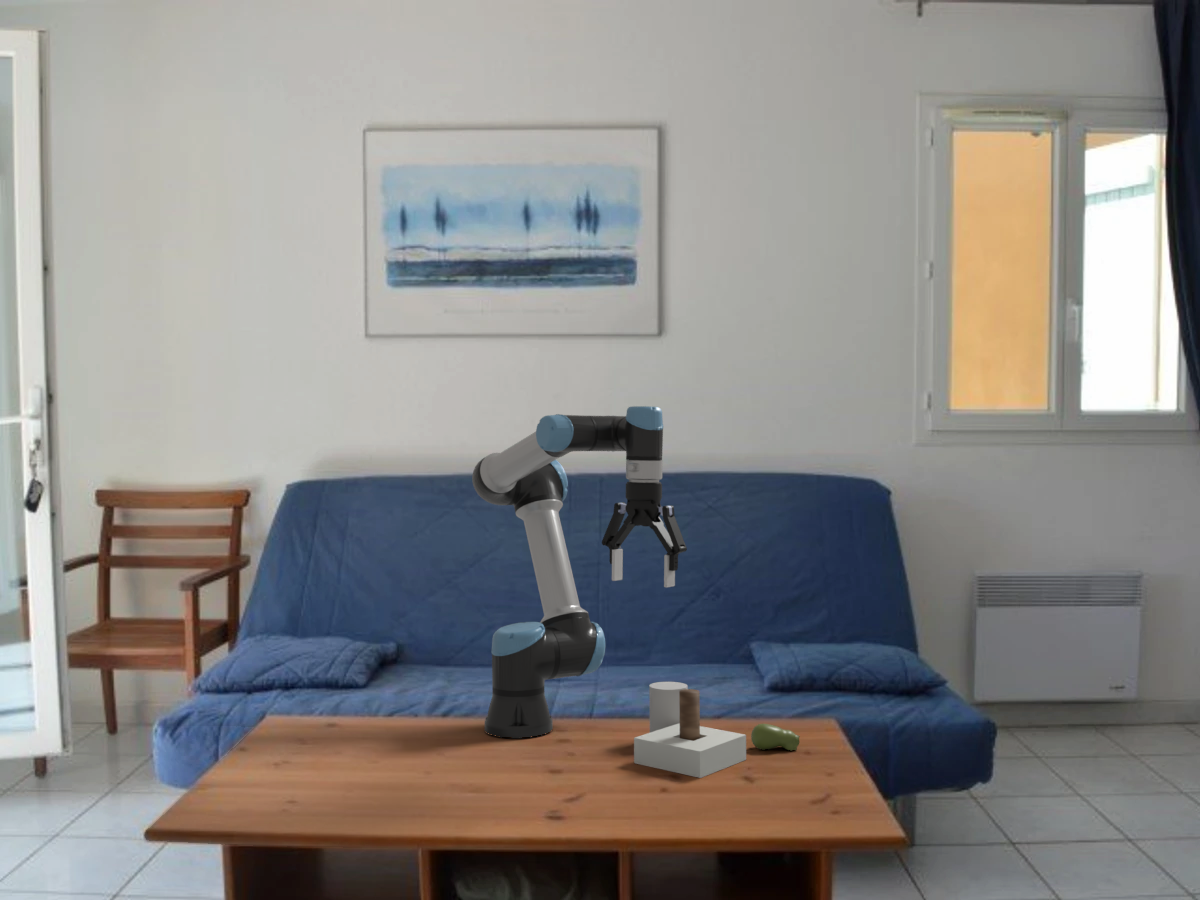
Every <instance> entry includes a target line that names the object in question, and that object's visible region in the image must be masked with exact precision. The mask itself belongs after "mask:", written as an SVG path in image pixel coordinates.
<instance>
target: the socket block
mask: <svg viewBox="0 0 1200 900" xmlns="http://www.w3.org/2000/svg"><path fill="white" fill-rule="evenodd" d="M746 760H747V734H744V733H739V732H734V731H729V730H723V729H716V728H712V727H706V726H703V725H702V726H701V725H700V739H697V740H694V741H691V740H686V739H681V738H680V723H678V724H675V725H672V726H669V727H666V728H663V729H660V730H657V731H654V732H650V731H649V732H647V733H644V734H642V735H639V736H635V737H634V738H633V763H634V764H636V765H637V764H638V765H641V766H646V767H650V768H655V769H658V770H663V771H668V772H671V773H672V772H673V773H677V774H682V775H686V776H689V777H694V778H699V779H701V778H705V777H706V776H709V775H712V774H714V773H716V772H719V771H721V770H724V769H726V768H729V767H731V766H734V765H736V764H739V763H742V762H744V761H746Z"/></svg>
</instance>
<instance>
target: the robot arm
mask: <svg viewBox="0 0 1200 900" xmlns="http://www.w3.org/2000/svg"><path fill="white" fill-rule="evenodd" d="M535 430H536V431H534V432H532V433H531V434H530V435H528V436H526V437H524V438H523V439H521V440H519V441H517V443H514V444H512V445H511V446H510V447H508V448H507V449H504V450H503V451H502V452H492V453H490V454H488V455H486V456H484V457H483V458H481V459H480V461H478V462H477V463H476V465H475V466H474V468H473V472H472V475H471V476H472V480H471V481H472V485H473V488H474V490H475V492H476V493H477V495H478V496H479V497H480V498H481V499H483V500H484V501H485V502H487V503H489V504H492V505H496V506H513V508H514V512H515V516H516V517H517V518H518V519H521V520H522V521H523V524H524V529H525V533H526V537H527V538H526V539H527V542H528V546H529V551H530V556H531V560H532V565H533V570H534V575H535V578H536V579H535V580H536V584H537V588H538V592H539V597H540V601H541V606H542V607H541V608H542V611H543V617H542V619H541V620H540V622H538V621H525V622H516V623H510V624H507V625H504V626H501V627H499V628H498V629H497V630H495V632H494V633H493V635H492V640H491V650H490V651H491V668H492V669H491V679H492V681H491V682H492V683H491V686H492V690H491V691H492V693H491V694H492V696H491V700H490V702H489V707H488V710H487V716H486V717H485V719H484V732H485V731H486V732H487V733H489V734H492V735H496V736H500V737H499V738H502V737H512V738H511V739H523V738H522V737H530V738H532V737H531V736H537V735H541V736H543V735H542V734H545V733H548V732H550V731H551V730H552V729H553V727H554V726H553V725H554V724H553V717H552V715H550V709H549V706H548V702H547V698H546V695H545V691H546V690H545V683H546V680H554V679H561V678H569V677H581V676H583V675H588V674H591V673H594V672H596V671H597V670H598V669H599V668H600V666H601V665H602V662H603V660H604V657H605V654H606V638H605V633H604V630H603V629H602V627H601V626H600V625H599V624H598V622H595V621H591V620H590V619H591V618H590V616H589V612H588V611H587V610H586V609H584V608H583V607H581V605H580V601H579V600H580V599H579V597H578V592H577V587H576V584H575V583H576V582H575V578H574V575H573V570H572V566H571V562H570V558H569V552H568V548H567V545H566V544H567V543H566V540H565V536H564V531H563V526H562V523H561V519H560V513H559V512H560V510H561V509H562V508H563V506H564V504H563V502H564V500H565V499H566V498H567V494H568V491H569V490H568V487H569V485H568V484H569V483H568V477H567V476H568V475H567V472H566V471H565V469H564V467H563V465H562V464H561V463H560V462H559V461H558V459H559V458H562V457H564V456H565V455H567V454H569V453H571V452H612V453H614V452H625V455H626V456H625V458H626V459H625V462H626V463H625V464H626V465H625V478H626V479H627V480H628V481H627V482H626V483H625V499H626V500H627V502H615V503H614V505H613V513H612V515H611V518H610V520H609V523H608V526H607V528H606V530H605V533H604V535H603V537H602V540H601V545H602V546H605V547H608V549H609V564H610V565H611V581H612V582H616V581H623V577H624V576H623V573H624V571H623V569H624V567H623V564H624V562H623V561H624V560H623V557H624V552H623V551H624V549H623V548H622V546H621V545H622V544H623V543H624V541H625V540H626V539H627V537H629V534H631V532H632V531H633V529H634V528H635V527H636V526H637V527H639V526H642V527H649V529H650V530H652V531H653V532H654V534H655V535H656V537H657V539H658V540H659V542H660V543H661V544H662V546H663V548H664V550H665V551H666V552H667V553H666V554H664V559H663V560H664V562H663V564H664V565H663V569H664V570H663V574H664V575H663V587H664V588H671V587H672V588H673V587H675V586H676V571H678V569H679V555H680V554H682V553H685V552H687V549H688V548H687V545H686V543H685V541H684V537H683V535H682V533H681V532H682V531H681V530H680V527H679V524H678V521H677V519H676V516H675V507H674V505H663V506H662V505H661V501H662V498H663V484H662V482H661V481H660V480H662V479H663V444H664V443H663V441H664V439H663V436H664V421H663V410H662V408H661V407H659V406H646V405H645V406H637V405H636V406H635V405H633V406H628V408H627V409H626V415H573V414H571V415H570V414H559V413H557V414H550V415H545V416H542V417H541V418H540V420H539V422H538V423H537V425H536V429H535ZM626 513H627V516H626V518H625V519H624V517H625V515H626ZM660 516H662V518H661V517H660ZM662 519H663V520H662ZM622 523H623V524H622ZM552 731H553V730H552ZM552 731H551V732H552ZM486 732H485V733H486ZM551 732H550V733H551ZM487 733H486V734H487ZM489 734H488V735H489ZM548 734H549V733H548ZM545 735H546V734H545ZM537 737H538V736H537Z"/></svg>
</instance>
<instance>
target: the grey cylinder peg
mask: <svg viewBox="0 0 1200 900" xmlns="http://www.w3.org/2000/svg"><path fill="white" fill-rule="evenodd" d="M648 686H649V687H648V688H649V692H648V693H649V697H648V698H649V733H650V732H654V731H657V730H660V729H663V728H666V727H669V726H672V725H675V724H678V723H680V705H679V691H680V690H684V689H689V688H688V684H687V683H683V682H677V681H657V682H653V683H650V684H649V685H648Z"/></svg>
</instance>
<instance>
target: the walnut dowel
mask: <svg viewBox="0 0 1200 900" xmlns="http://www.w3.org/2000/svg"><path fill="white" fill-rule="evenodd" d="M700 693H701V692H700V690H699V689H693V688H690V689H689V688H688V689H684V690H680V691H679V705H680V738H681V739H686V740H691V741H694V740H697V739H700V726H701V724H700V722H701V718H700V717H701V716H700V712H701V710H700V709H701V708H700V705H701V703H700V702H701V701H700V699H701V698H700V697H701V696H700Z"/></svg>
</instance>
